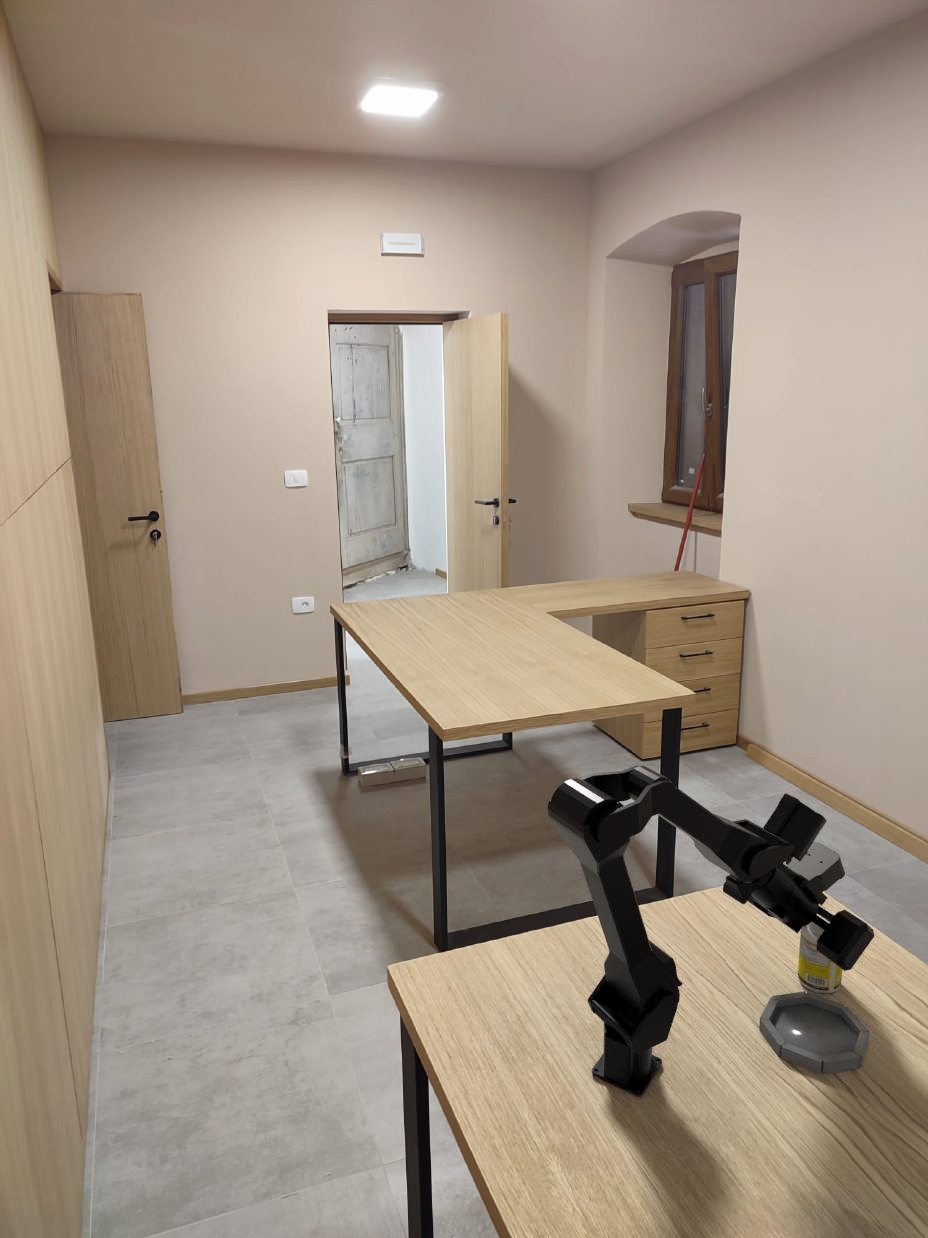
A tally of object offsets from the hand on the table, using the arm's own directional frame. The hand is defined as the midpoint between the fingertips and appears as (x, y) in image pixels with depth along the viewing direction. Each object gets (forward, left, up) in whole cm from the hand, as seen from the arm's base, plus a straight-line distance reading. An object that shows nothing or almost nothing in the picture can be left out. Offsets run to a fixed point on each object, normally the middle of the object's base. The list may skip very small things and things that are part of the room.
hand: (830, 937), depth 117 cm
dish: (-12, -1, -7) cm, 14 cm away
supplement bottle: (-1, +1, -7) cm, 7 cm away
